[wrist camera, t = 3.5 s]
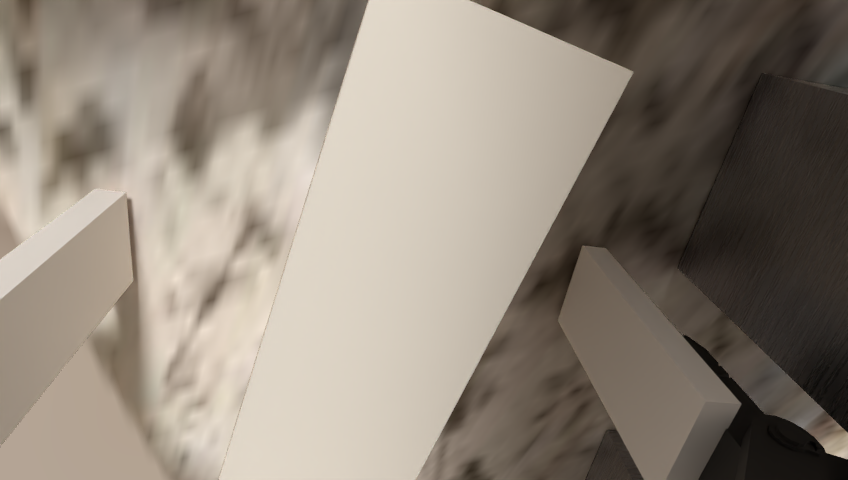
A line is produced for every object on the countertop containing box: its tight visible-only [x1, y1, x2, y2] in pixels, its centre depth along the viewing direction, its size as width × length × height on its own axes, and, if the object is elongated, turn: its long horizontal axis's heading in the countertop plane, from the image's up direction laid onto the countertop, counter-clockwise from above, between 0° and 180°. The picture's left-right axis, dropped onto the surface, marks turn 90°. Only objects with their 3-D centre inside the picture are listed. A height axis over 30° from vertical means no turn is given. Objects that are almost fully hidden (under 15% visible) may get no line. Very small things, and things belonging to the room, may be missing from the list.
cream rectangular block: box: [218, 0, 633, 480], centre depth 13 cm, size 14×4×6 cm, turn 159°
